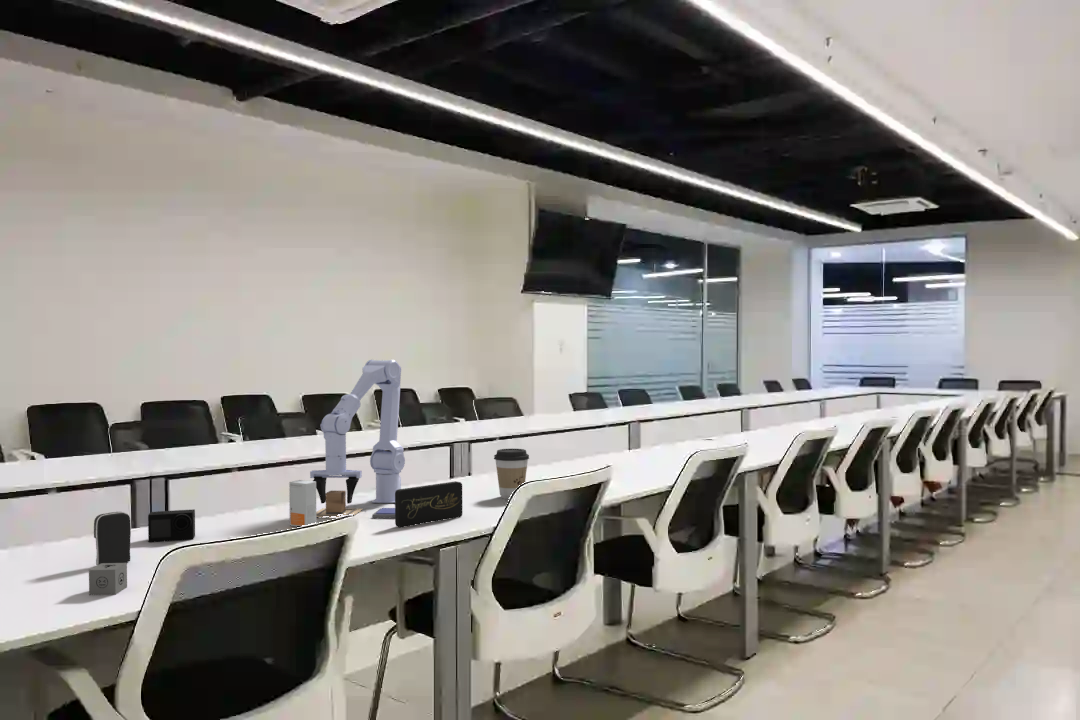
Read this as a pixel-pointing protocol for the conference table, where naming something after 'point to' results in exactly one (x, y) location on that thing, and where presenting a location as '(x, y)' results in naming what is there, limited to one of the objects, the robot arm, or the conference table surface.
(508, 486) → the coffee cup
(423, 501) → the nameplate
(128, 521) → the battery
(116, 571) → the dice cube
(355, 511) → the print card
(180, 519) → the digital camera
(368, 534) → the conference table surface
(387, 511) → the ink pad
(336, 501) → the block
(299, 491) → the skincare box
